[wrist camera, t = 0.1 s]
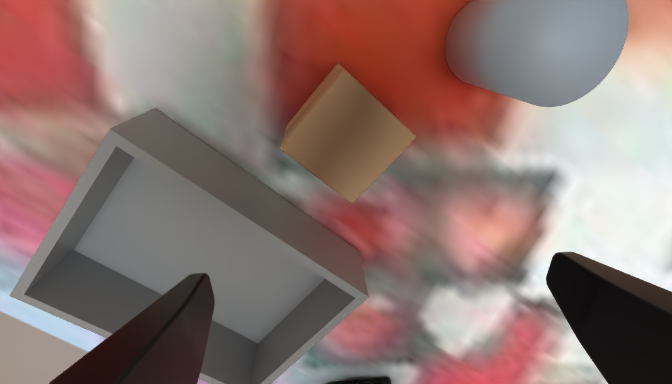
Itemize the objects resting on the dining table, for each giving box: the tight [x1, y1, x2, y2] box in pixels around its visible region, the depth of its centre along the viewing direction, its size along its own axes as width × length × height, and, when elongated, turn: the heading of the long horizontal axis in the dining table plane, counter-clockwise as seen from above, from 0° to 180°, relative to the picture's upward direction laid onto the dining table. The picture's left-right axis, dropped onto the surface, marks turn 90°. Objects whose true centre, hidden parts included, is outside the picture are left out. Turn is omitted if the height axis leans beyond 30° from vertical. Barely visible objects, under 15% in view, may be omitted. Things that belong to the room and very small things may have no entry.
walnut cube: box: [280, 62, 416, 203], centre depth 19 cm, size 5×5×5 cm
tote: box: [10, 108, 369, 384], centre depth 23 cm, size 17×13×5 cm
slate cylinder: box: [445, 0, 628, 107], centre depth 17 cm, size 5×5×7 cm
